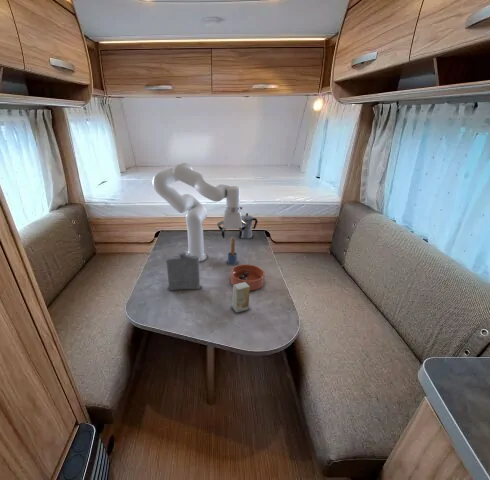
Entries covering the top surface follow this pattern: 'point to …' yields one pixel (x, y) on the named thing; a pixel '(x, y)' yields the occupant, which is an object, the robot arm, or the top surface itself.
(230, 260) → the cup
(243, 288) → the cosmetic box
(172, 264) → the hip flask
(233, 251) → the stick
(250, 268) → the bowl
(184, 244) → the top surface
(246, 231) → the coffeepot
